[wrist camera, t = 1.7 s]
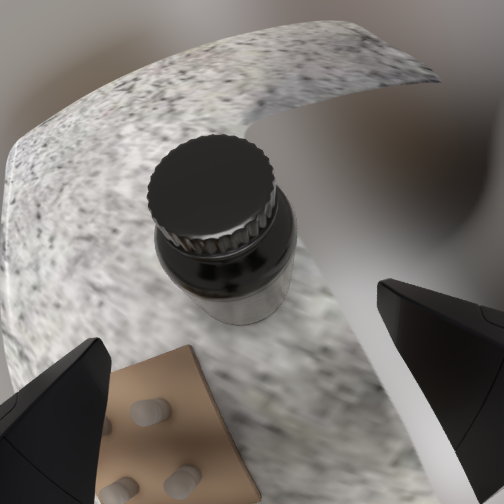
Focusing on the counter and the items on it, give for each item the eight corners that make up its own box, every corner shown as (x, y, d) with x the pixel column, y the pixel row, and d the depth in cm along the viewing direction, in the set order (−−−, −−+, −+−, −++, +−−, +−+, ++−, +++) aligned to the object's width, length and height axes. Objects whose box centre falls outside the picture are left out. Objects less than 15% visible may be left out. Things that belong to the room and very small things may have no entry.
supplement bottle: (176, 278, 22) (94, 184, 11) (244, 220, 23) (221, 94, 12) (237, 348, 20) (190, 313, 9) (310, 281, 21) (344, 178, 10)
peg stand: (261, 496, 15) (258, 520, 12) (119, 521, 14) (95, 539, 10) (191, 345, 20) (173, 338, 16) (63, 390, 19) (31, 388, 15)
